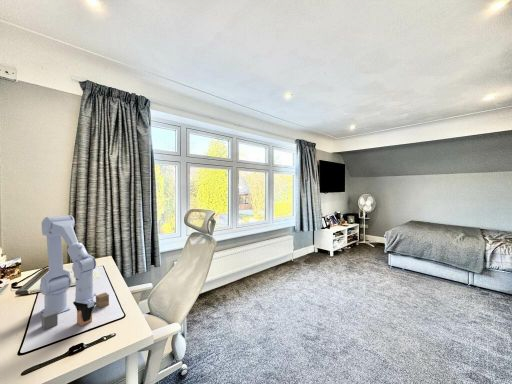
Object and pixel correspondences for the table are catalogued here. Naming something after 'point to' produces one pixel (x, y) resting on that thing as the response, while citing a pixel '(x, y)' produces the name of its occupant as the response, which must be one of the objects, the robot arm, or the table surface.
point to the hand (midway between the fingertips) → (84, 318)
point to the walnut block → (102, 300)
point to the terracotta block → (80, 320)
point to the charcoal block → (49, 319)
